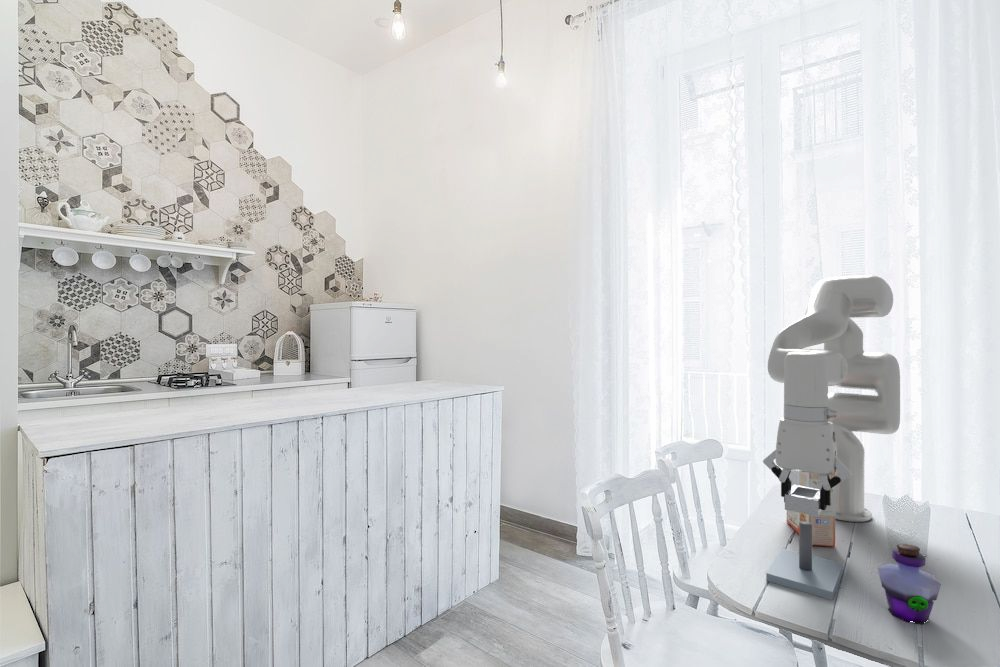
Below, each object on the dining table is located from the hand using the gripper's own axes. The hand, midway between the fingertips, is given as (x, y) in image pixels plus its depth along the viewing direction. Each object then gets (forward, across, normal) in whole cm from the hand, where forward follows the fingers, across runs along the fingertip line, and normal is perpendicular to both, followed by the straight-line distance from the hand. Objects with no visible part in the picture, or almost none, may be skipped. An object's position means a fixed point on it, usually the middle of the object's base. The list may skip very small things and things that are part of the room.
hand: (805, 503), depth 101 cm
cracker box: (+15, +3, -23) cm, 28 cm away
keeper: (+15, 0, 0) cm, 15 cm away
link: (+1, 0, 0) cm, 1 cm away
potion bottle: (+15, -16, +4) cm, 22 cm away
